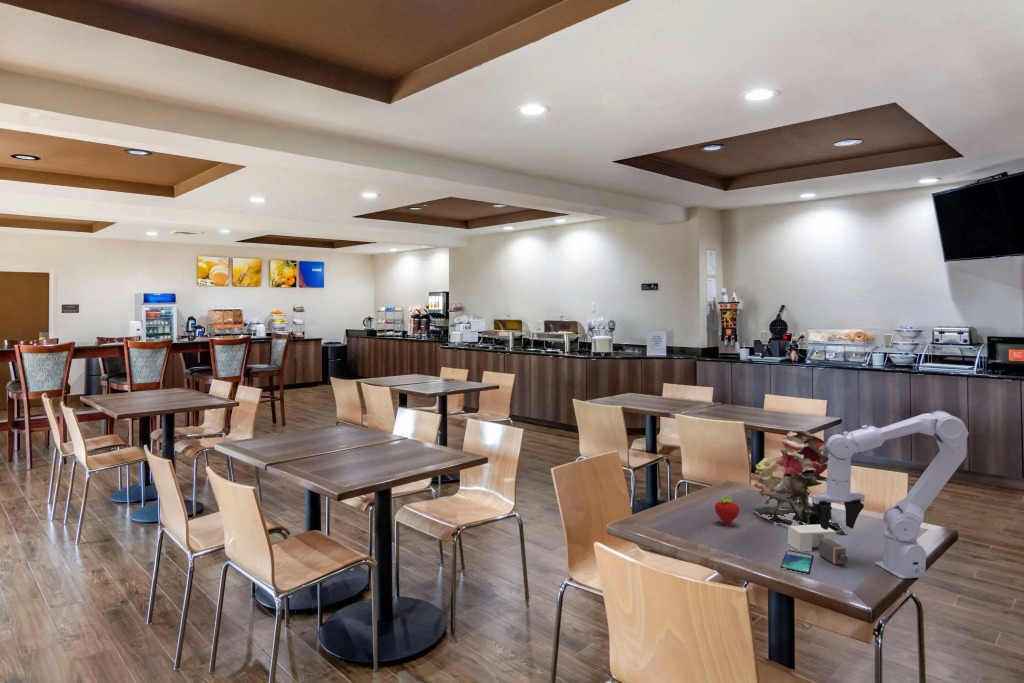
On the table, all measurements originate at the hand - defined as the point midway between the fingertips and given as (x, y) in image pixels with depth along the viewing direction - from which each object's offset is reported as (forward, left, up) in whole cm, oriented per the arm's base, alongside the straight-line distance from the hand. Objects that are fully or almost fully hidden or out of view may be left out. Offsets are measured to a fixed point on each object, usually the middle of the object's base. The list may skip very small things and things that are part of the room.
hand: (837, 527), depth 167 cm
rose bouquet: (+33, -8, -10) cm, 35 cm away
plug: (+1, +1, -9) cm, 9 cm away
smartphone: (+1, +11, -10) cm, 15 cm away
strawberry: (+30, +17, -10) cm, 36 cm away
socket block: (+10, +1, -9) cm, 14 cm away
